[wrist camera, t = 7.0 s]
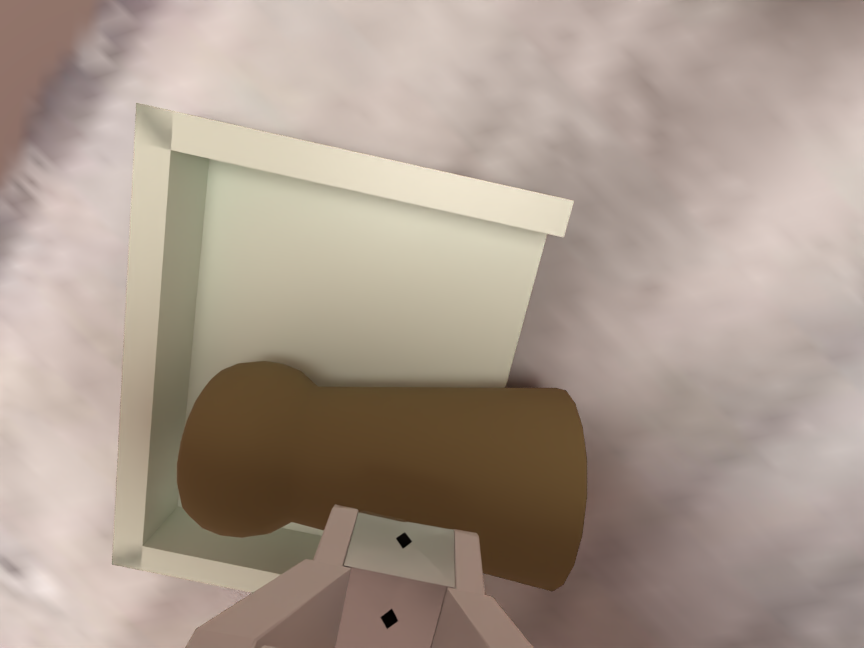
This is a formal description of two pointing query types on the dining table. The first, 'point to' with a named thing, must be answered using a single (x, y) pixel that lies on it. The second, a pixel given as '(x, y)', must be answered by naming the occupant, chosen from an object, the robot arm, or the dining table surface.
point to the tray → (297, 302)
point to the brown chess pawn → (391, 462)
